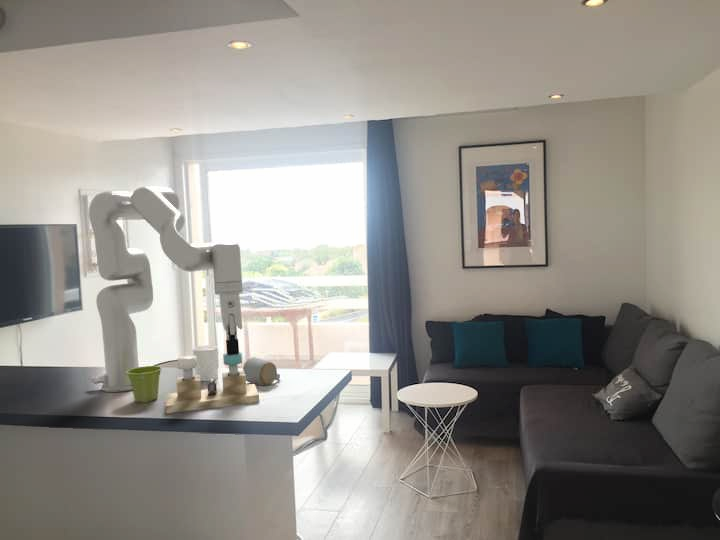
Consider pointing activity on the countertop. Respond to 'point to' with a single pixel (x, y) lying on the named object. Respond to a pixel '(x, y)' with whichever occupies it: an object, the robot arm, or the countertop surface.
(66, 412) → the countertop surface
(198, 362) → the white cup
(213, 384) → the grey metal peg
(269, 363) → the ceramic mug
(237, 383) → the mount
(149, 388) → the plant pot
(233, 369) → the teal knob
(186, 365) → the ivory knob
